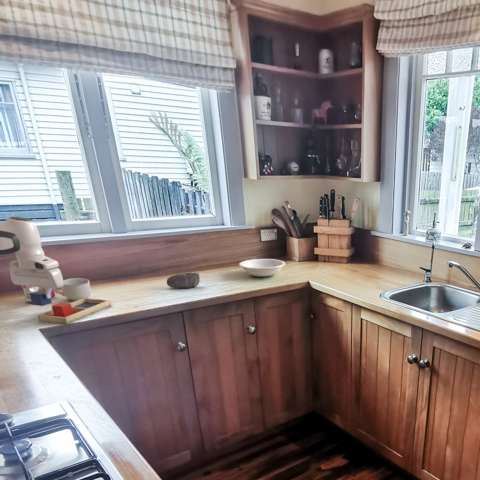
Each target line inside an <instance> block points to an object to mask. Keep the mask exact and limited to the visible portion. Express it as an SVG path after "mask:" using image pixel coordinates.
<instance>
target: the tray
mask: <svg viewBox="0 0 480 480" xmlns="http://www.w3.org/2000/svg"><path fill="white" fill-rule="evenodd" d="M70 303H71V307H72V310H73V314H72V315H70V316H67V317H56V316H54V313H53V310H52V309H50V310H48V311H45V312H42V313H39V314H37V320H38V322H41V323H51V324H62V325H68V324H71V323H73V322H76V321H78V320H80V319H83V318H85V317H88V316H90V315H93V314H95V313H98V312H100V311H103V310H105V309H107V308H110V307H111V306H112V304H111V300H110V299H99V298H90V297H88V298H83V299H81V300H78V301H73V302H70Z"/></svg>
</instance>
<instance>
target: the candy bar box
mask: <svg viewBox="0 0 480 480" xmlns="http://www.w3.org/2000/svg"><path fill="white" fill-rule="evenodd" d="M21 288H22V292H23V296H24V299H25V303H29V304H30V303H31V304H32V301H31V297H30V292H29V291H28V290H27V288H26V286H24V285H21ZM33 289H34V290H35V292H37V291H44V292H46V290H45V289H44V287H33ZM50 294H51V299H52V298H55V297H56V292H55V291H54V290H53V289H52V291H51V293H50Z"/></svg>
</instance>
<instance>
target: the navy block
mask: <svg viewBox="0 0 480 480" xmlns="http://www.w3.org/2000/svg"><path fill="white" fill-rule="evenodd" d="M45 293H46V292H44V291H37V292H33V293H30V297H31V301H32V303H31V305H33V306H40V307H43V306H47V305H50V304H52V298H49V299H47V298H45V297H44V294H45Z"/></svg>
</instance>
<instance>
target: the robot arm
mask: <svg viewBox="0 0 480 480" xmlns="http://www.w3.org/2000/svg"><path fill="white" fill-rule="evenodd" d="M14 253H15V256H16V260H15V259H13V260H11V261H10V262H8V263H9V275H10V280H11V283H12V284H13V285H15V286H22V285H24V286H26V288H27V290H28V291H29V292H30V293H33V292H35V290H34V289H33V287H44V289H45V290H46V293H45V294H44V297H45V298H47V299H49V298H51V294H50V293H51V291H52V288H54V289H56V290H58V289H61V287H63V285H64V281H63V280H64V277H63V274H62V271H61V269H60V268H59V267H60V264H59V261H58V260H55V259H53V258H51V257H49V256H47V255H46V254H45V251H44V249H43V248H42V238H41V235H40V232H39V229H38V226H37V224H36V223H35V222H34V221H33V220H31V218H30V219H29V218H26V217H21V216H10V217H8V218H7V219H5V220H4V221H3V222H0V256H7V255H10V254H14ZM51 299H52V298H51Z"/></svg>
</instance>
